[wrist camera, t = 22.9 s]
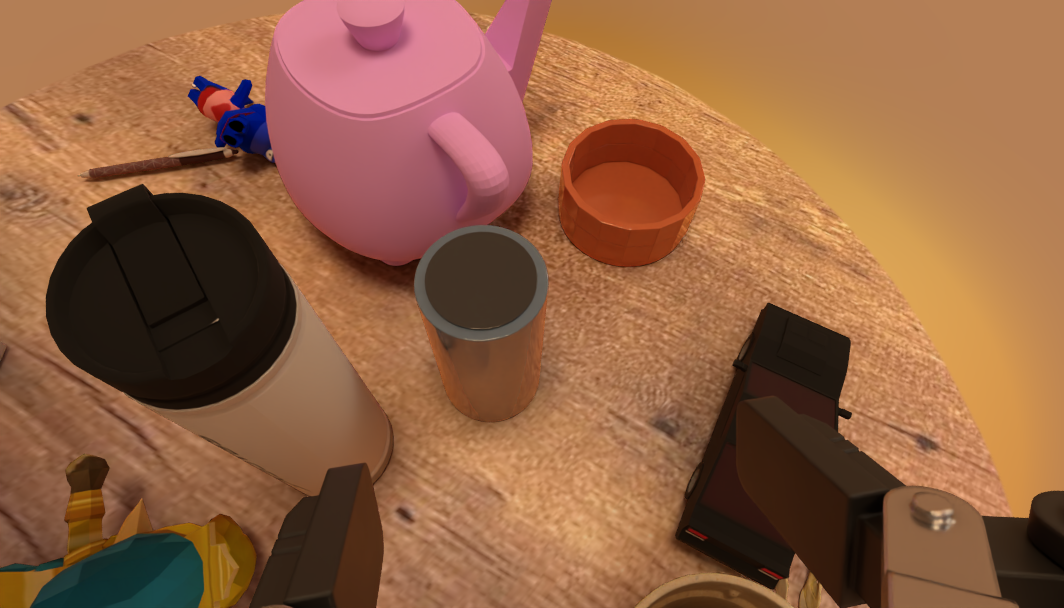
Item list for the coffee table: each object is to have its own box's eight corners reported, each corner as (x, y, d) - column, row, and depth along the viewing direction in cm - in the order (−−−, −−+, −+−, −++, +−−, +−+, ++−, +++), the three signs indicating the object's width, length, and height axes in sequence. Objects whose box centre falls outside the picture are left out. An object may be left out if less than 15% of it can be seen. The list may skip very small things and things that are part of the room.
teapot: (639, 212, 43) (694, 31, 29) (402, 365, 37) (337, 226, 23) (483, 60, 50) (471, -142, 36) (263, 168, 44) (153, -26, 30)
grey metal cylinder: (428, 404, 36) (390, 315, 25) (464, 320, 38) (444, 208, 28) (521, 435, 35) (523, 357, 24) (551, 348, 38) (565, 243, 27)
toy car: (841, 357, 38) (885, 323, 33) (769, 598, 31) (812, 595, 27) (743, 313, 39) (772, 275, 34) (654, 535, 32) (675, 523, 28)
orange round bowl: (542, 245, 41) (544, 206, 37) (578, 149, 45) (584, 105, 42) (672, 282, 40) (689, 246, 36) (697, 180, 44) (715, 138, 40)
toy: (27, 734, 31) (301, 684, 30) (-295, 907, 19) (131, 833, 19) (29, 475, 34) (278, 424, 33) (-248, 496, 23) (120, 419, 22)
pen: (240, 151, 44) (234, 142, 43) (240, 159, 44) (234, 150, 43) (81, 174, 43) (72, 165, 42) (79, 183, 43) (70, 174, 42)
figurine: (279, 102, 40) (305, 152, 44) (225, 52, 43) (255, 104, 47) (217, 137, 39) (250, 186, 43) (166, 83, 42) (202, 134, 46)
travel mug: (361, 372, 37) (211, 147, 19) (413, 460, 34) (295, 296, 16) (266, 427, 35) (3, 236, 17) (313, 524, 32) (61, 418, 15)
